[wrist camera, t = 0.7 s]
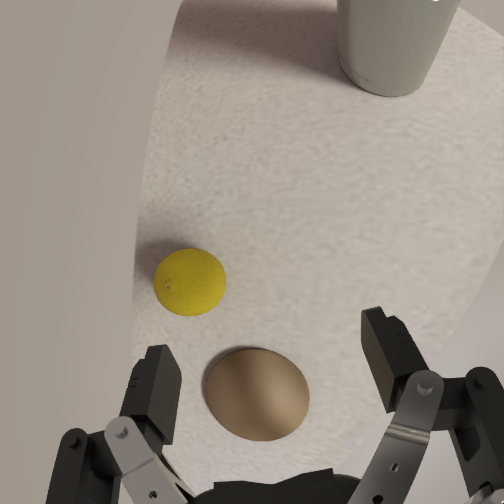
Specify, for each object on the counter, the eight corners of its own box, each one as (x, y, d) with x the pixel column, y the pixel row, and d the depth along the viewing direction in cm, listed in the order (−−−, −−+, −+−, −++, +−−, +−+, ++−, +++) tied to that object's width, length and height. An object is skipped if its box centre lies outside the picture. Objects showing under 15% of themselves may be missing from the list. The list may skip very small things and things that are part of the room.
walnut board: (269, 328, 28) (267, 330, 28) (329, 409, 27) (329, 413, 26) (190, 378, 30) (187, 381, 30) (247, 450, 29) (245, 454, 28)
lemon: (176, 296, 31) (130, 308, 23) (190, 241, 30) (145, 238, 22) (227, 315, 29) (193, 336, 22) (244, 258, 29) (213, 261, 21)
